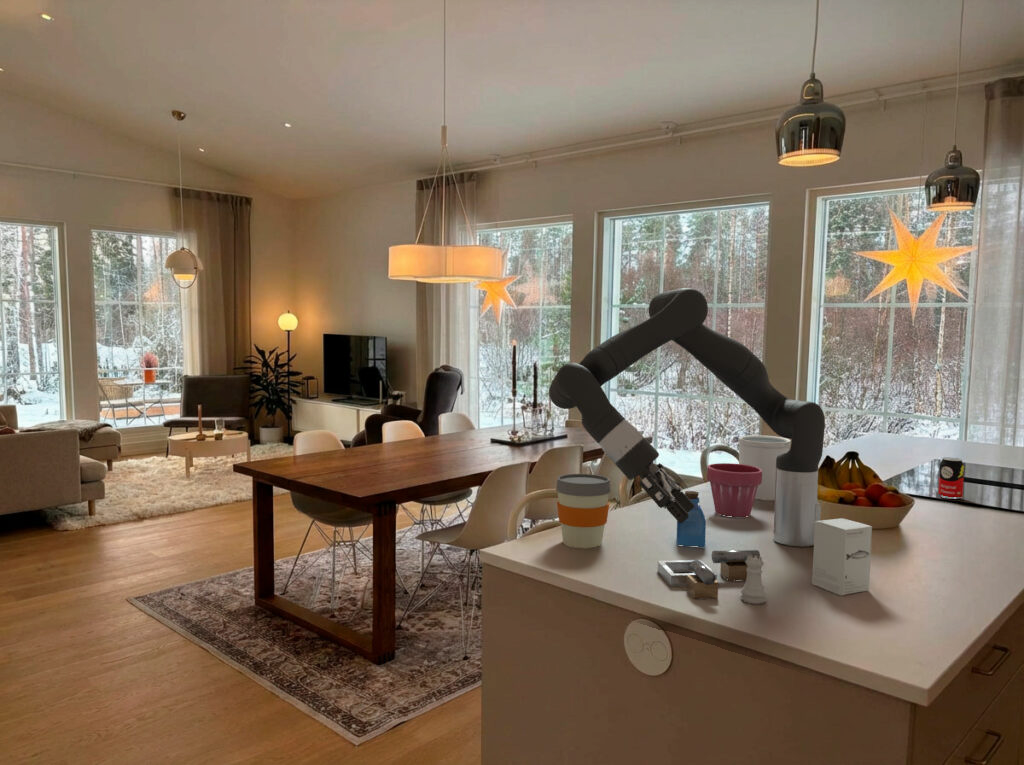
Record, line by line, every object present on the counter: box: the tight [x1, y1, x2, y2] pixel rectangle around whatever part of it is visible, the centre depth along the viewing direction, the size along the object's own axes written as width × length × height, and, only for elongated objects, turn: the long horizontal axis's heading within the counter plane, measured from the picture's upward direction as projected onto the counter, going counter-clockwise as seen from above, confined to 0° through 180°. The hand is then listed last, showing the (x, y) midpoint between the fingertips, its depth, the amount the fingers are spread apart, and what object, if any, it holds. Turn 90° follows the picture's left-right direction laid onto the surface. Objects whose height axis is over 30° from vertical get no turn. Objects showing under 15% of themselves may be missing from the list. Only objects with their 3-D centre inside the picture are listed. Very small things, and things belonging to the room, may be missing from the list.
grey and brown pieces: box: [657, 549, 761, 600], centre depth 140 cm, size 19×17×5 cm
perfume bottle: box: [676, 490, 707, 548], centre depth 168 cm, size 6×6×12 cm
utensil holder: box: [738, 434, 792, 501], centre depth 220 cm, size 15×15×18 cm
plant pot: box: [706, 462, 762, 518], centre depth 197 cm, size 14×14×13 cm
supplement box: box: [811, 517, 873, 597], centre depth 139 cm, size 7×7×13 cm
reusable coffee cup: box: [555, 473, 612, 549], centre depth 168 cm, size 13×13×15 cm
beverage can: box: [937, 457, 965, 498], centre depth 219 cm, size 6×6×12 cm
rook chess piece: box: [740, 555, 767, 605], centre depth 132 cm, size 4×4×8 cm
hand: (688, 514), depth 135 cm, fingers open, 8 cm apart
